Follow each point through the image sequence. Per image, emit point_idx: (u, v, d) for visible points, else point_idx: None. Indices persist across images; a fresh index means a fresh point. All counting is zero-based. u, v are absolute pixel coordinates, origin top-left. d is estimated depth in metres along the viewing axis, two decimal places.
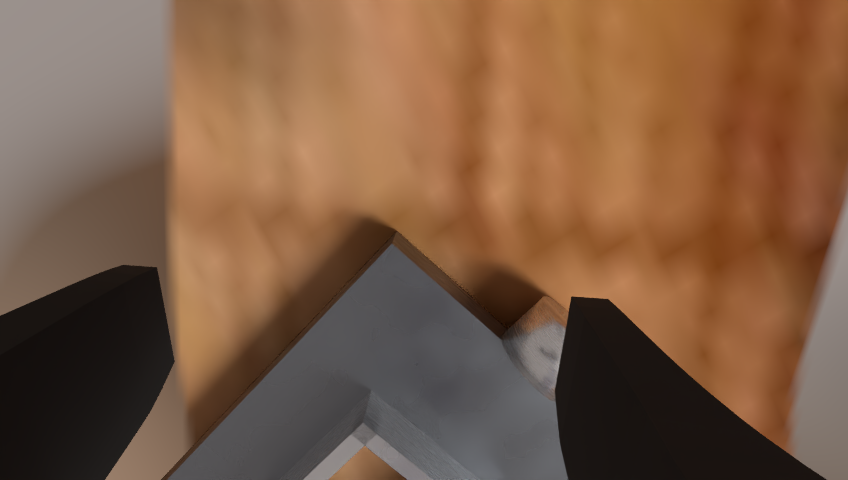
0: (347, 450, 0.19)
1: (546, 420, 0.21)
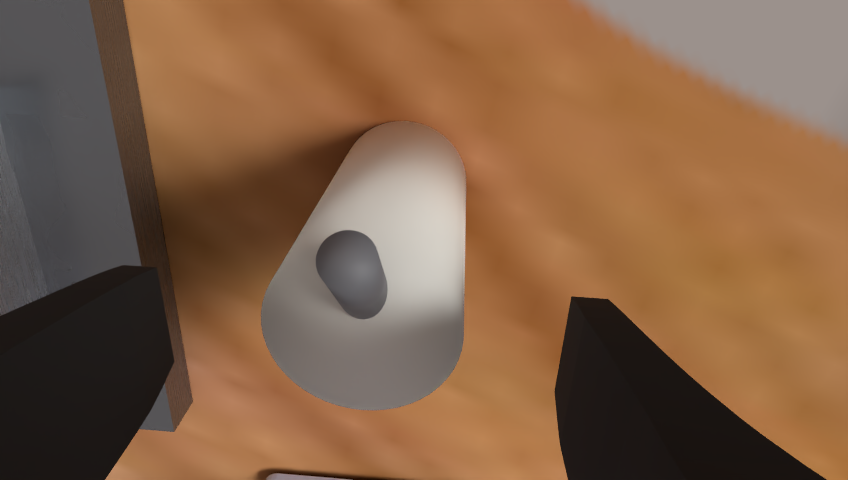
0: None
1: None
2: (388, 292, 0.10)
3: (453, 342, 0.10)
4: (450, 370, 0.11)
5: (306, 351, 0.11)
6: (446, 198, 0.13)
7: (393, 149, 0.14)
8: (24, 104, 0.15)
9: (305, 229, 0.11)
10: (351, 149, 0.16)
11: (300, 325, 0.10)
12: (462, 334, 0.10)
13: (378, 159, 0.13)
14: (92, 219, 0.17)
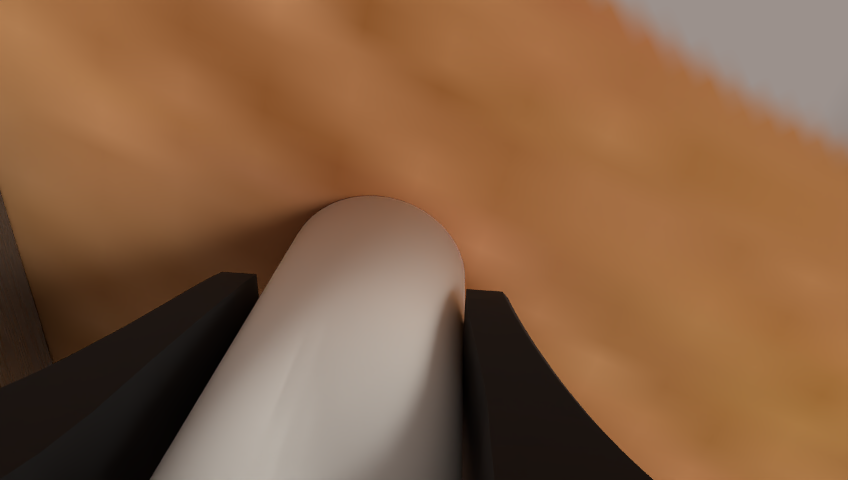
0: None
1: None
2: None
3: None
4: None
5: None
6: (431, 360, 0.08)
7: (348, 263, 0.09)
8: None
9: (166, 461, 0.06)
10: (295, 241, 0.11)
11: None
12: None
13: (322, 285, 0.08)
14: None
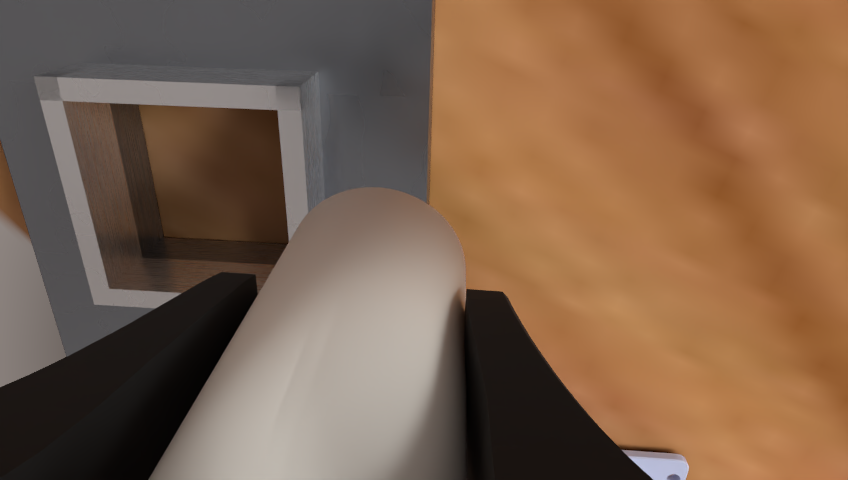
0: (57, 122, 0.15)
1: None
2: None
3: None
4: None
5: None
6: (438, 348, 0.08)
7: (354, 252, 0.09)
8: (347, 85, 0.16)
9: (177, 443, 0.06)
10: (298, 230, 0.11)
11: None
12: None
13: (328, 273, 0.08)
14: None
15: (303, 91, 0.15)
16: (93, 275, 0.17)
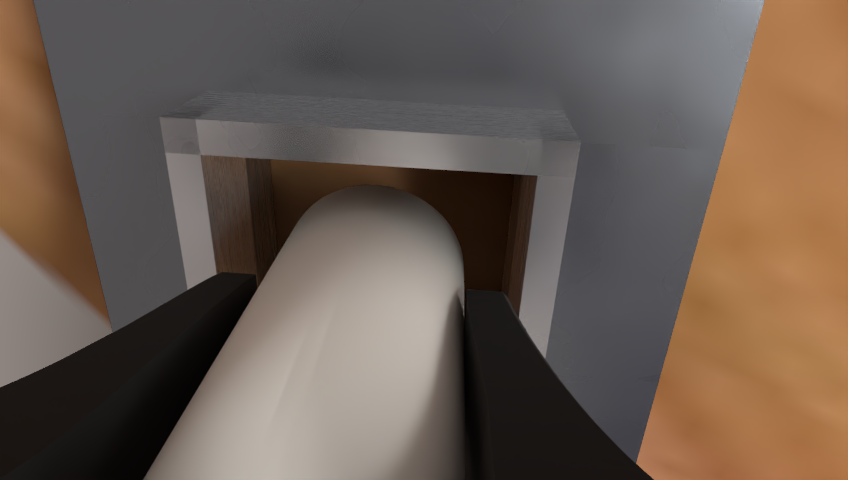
0: (189, 184, 0.10)
1: None
2: None
3: None
4: None
5: None
6: (436, 346, 0.08)
7: (353, 249, 0.09)
8: (603, 130, 0.11)
9: (174, 439, 0.06)
10: (296, 228, 0.11)
11: None
12: None
13: (327, 270, 0.08)
14: (630, 279, 0.13)
15: None
16: None
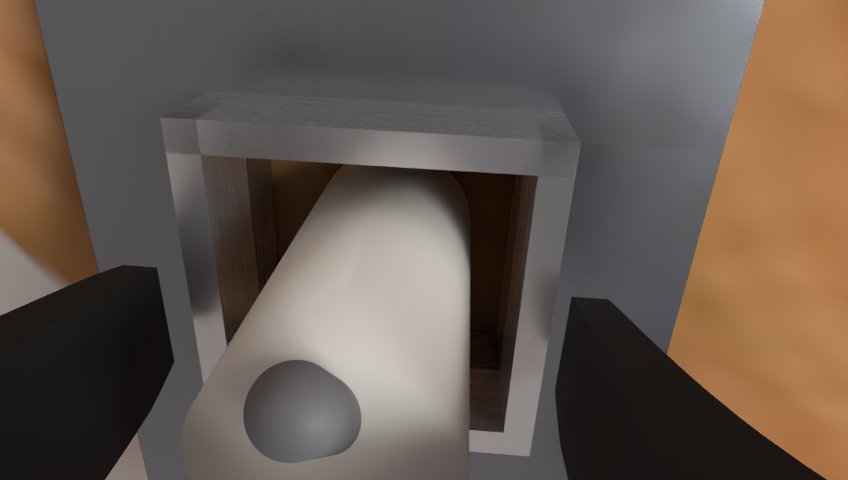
0: (189, 185, 0.10)
1: None
2: (362, 423, 0.07)
3: None
4: None
5: None
6: (448, 264, 0.10)
7: (379, 192, 0.11)
8: (603, 130, 0.11)
9: (252, 313, 0.08)
10: (330, 183, 0.13)
11: (237, 459, 0.07)
12: None
13: (360, 206, 0.10)
14: (630, 279, 0.13)
15: None
16: None
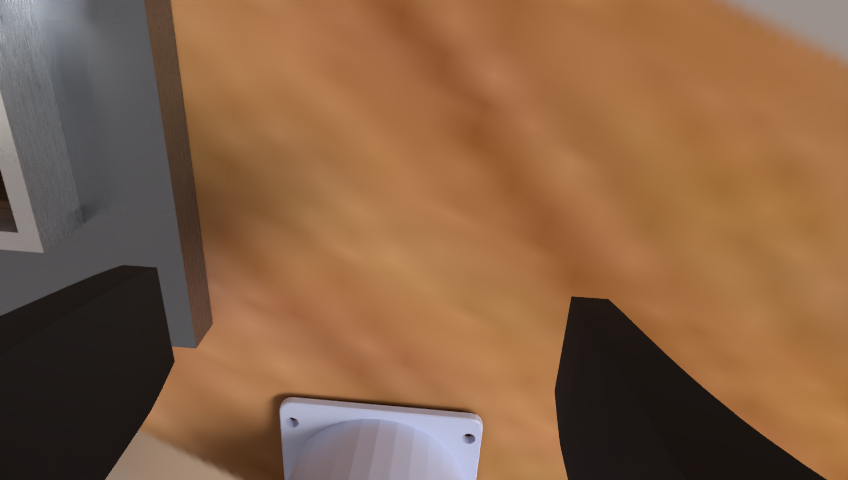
0: None
1: None
2: None
3: None
4: None
5: None
6: None
7: None
8: (63, 10, 0.16)
9: None
10: None
11: None
12: None
13: None
14: (124, 128, 0.17)
15: None
16: None
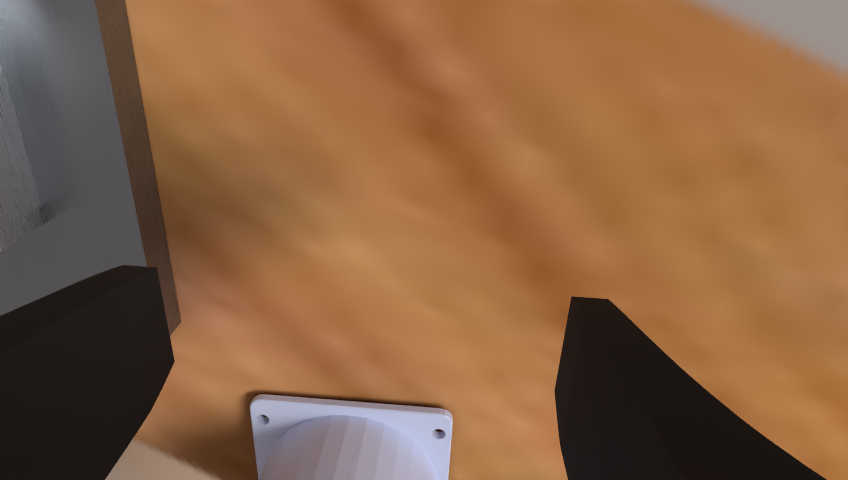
0: None
1: None
2: None
3: None
4: None
5: None
6: None
7: None
8: (15, 9, 0.16)
9: None
10: None
11: None
12: None
13: None
14: (81, 126, 0.17)
15: None
16: None
